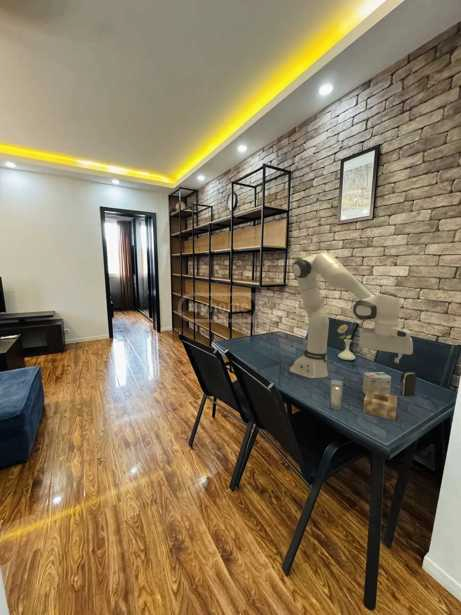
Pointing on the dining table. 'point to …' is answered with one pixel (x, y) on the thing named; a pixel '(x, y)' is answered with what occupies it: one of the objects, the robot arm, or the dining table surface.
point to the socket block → (380, 404)
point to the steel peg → (336, 397)
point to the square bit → (336, 382)
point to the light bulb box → (376, 382)
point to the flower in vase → (346, 353)
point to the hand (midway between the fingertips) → (383, 360)
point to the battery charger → (408, 383)
